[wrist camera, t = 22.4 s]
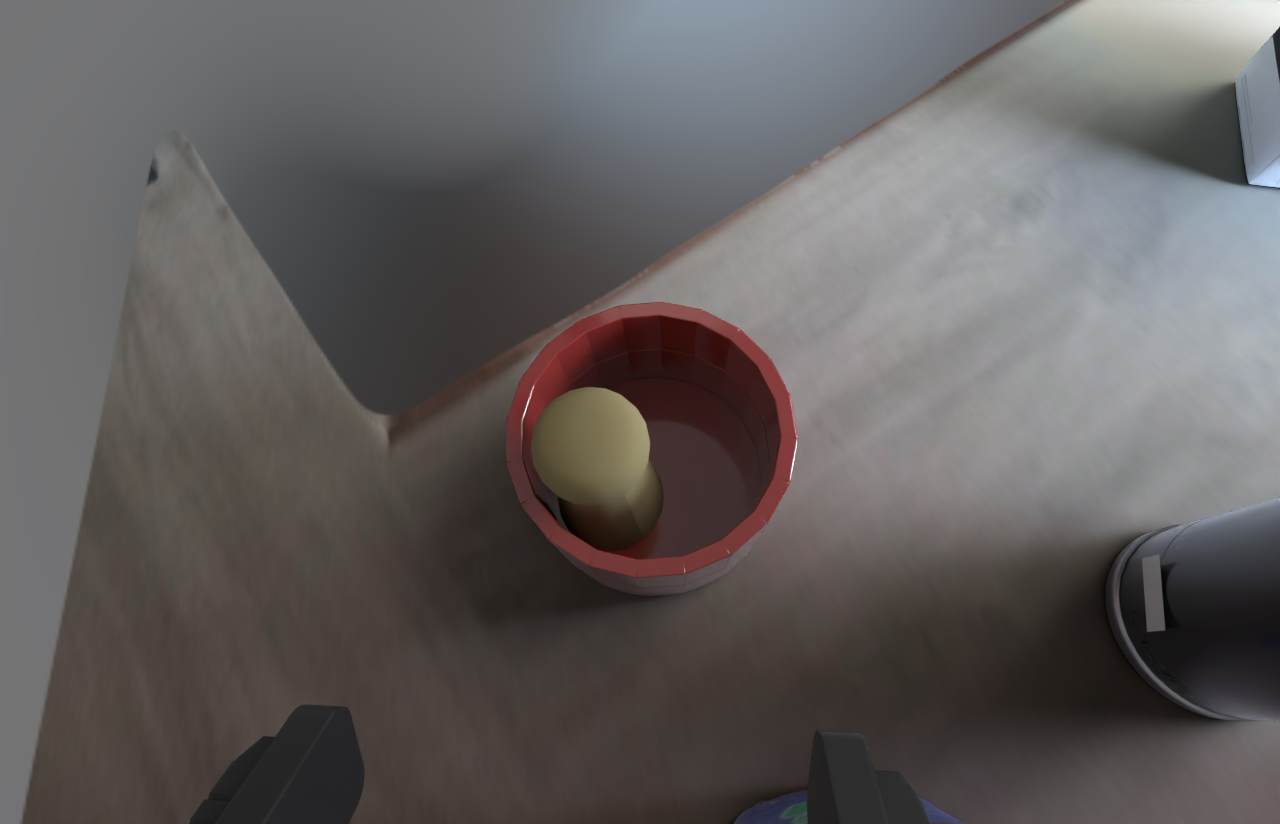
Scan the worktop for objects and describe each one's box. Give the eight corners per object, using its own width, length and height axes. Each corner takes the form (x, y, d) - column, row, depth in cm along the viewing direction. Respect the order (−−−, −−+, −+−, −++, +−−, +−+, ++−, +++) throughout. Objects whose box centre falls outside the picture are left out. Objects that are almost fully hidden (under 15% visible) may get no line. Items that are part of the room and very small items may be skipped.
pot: (713, 338, 41) (721, 266, 34) (814, 538, 36) (850, 505, 29) (509, 417, 40) (471, 360, 33) (586, 635, 35) (561, 626, 28)
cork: (544, 468, 38) (496, 395, 28) (641, 432, 39) (628, 347, 29) (577, 566, 36) (537, 526, 26) (679, 527, 37) (680, 472, 26)
